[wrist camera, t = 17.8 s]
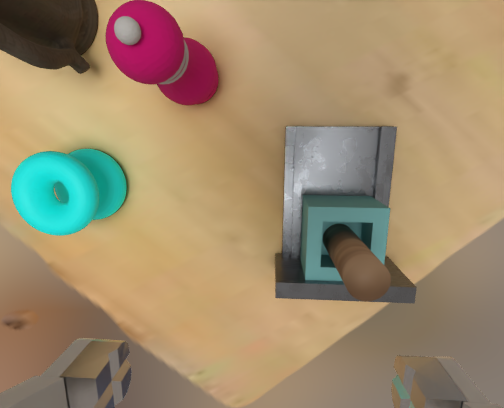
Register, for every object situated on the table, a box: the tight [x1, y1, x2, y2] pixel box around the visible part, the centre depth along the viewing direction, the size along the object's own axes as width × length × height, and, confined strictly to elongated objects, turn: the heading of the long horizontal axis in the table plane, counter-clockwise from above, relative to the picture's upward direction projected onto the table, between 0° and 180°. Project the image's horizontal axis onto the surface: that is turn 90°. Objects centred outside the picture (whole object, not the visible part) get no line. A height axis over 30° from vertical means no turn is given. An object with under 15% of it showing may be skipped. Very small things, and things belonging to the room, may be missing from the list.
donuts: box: [11, 149, 127, 235], centre depth 39 cm, size 10×10×10 cm
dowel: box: [323, 224, 391, 301], centre depth 33 cm, size 4×4×12 cm
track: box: [275, 126, 416, 303], centre depth 38 cm, size 20×16×9 cm
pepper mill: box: [106, 0, 218, 105], centre depth 30 cm, size 7×7×20 cm
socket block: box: [300, 195, 390, 281], centre depth 39 cm, size 9×9×7 cm
